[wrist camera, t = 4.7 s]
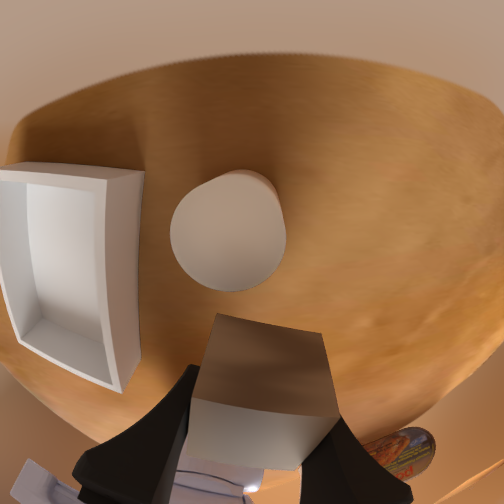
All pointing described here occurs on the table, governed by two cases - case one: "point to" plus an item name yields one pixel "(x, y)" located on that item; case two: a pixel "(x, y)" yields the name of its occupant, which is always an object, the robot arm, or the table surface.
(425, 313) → the table surface
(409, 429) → the tin
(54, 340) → the tote
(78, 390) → the table surface
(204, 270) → the ceramic cylinder
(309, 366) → the walnut cube
